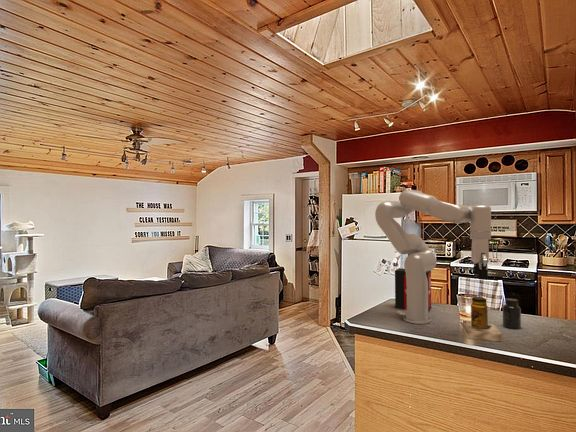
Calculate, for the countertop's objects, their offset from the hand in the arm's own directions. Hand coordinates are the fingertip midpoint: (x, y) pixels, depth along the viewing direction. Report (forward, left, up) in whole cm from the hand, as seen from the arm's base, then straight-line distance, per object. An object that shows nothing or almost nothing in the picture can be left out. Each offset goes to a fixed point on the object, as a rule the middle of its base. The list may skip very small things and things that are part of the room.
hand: (480, 277), depth 150 cm
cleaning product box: (-25, +37, -24) cm, 51 cm away
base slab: (0, 0, -24) cm, 24 cm away
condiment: (0, +1, -21) cm, 21 cm away
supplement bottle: (+15, +15, -24) cm, 32 cm away
